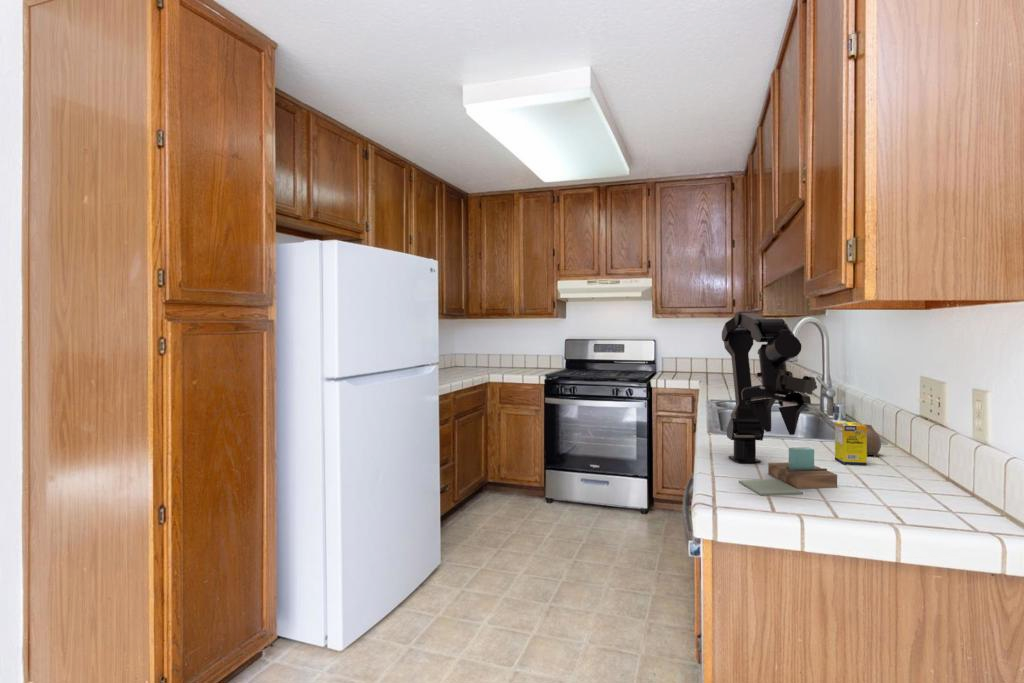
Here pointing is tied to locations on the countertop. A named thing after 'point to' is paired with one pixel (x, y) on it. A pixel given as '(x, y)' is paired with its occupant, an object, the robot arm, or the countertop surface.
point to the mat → (770, 487)
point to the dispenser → (803, 476)
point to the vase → (872, 441)
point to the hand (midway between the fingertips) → (780, 433)
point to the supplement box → (851, 443)
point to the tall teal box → (801, 458)
